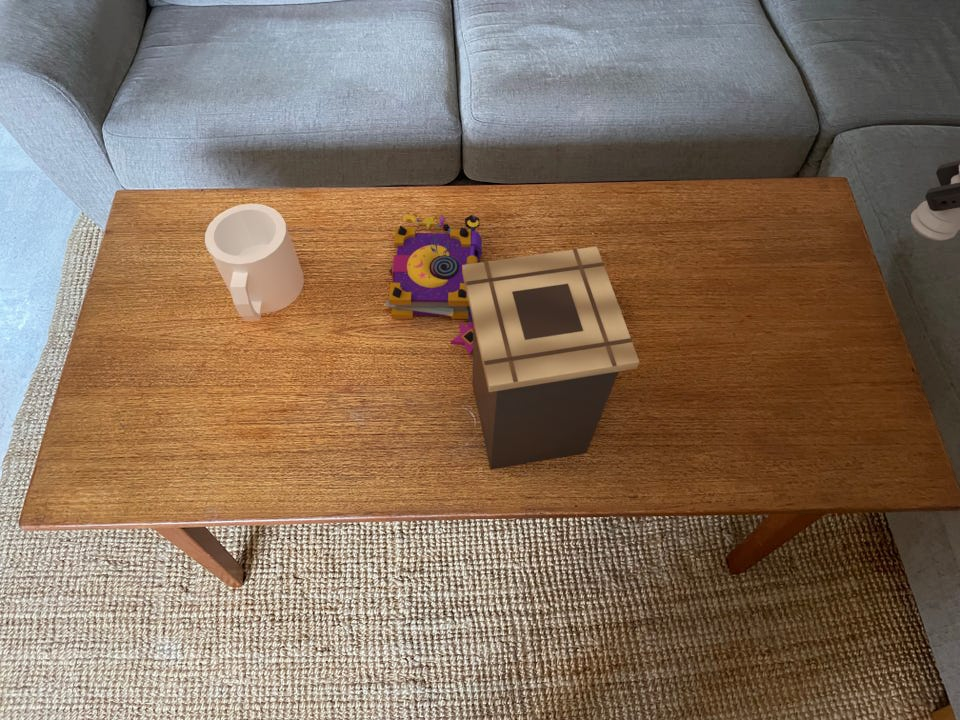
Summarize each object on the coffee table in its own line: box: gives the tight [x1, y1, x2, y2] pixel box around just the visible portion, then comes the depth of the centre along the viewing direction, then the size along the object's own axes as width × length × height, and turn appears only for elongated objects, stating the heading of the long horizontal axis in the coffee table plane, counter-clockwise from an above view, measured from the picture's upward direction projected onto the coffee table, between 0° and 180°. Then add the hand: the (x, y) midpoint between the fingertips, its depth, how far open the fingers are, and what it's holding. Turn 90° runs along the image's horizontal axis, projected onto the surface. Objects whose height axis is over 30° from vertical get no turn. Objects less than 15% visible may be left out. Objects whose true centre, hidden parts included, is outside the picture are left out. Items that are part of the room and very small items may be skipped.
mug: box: [204, 203, 305, 322], centre depth 86 cm, size 14×10×11 cm
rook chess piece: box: [910, 165, 960, 241], centre depth 62 cm, size 4×4×8 cm
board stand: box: [472, 323, 620, 470], centre depth 72 cm, size 12×12×22 cm
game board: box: [462, 246, 640, 392], centre depth 62 cm, size 14×14×1 cm
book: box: [382, 214, 483, 357], centre depth 87 cm, size 15×25×12 cm, turn 0°
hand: (934, 188), depth 62 cm, fingers closed on rook chess piece, 3 cm apart
